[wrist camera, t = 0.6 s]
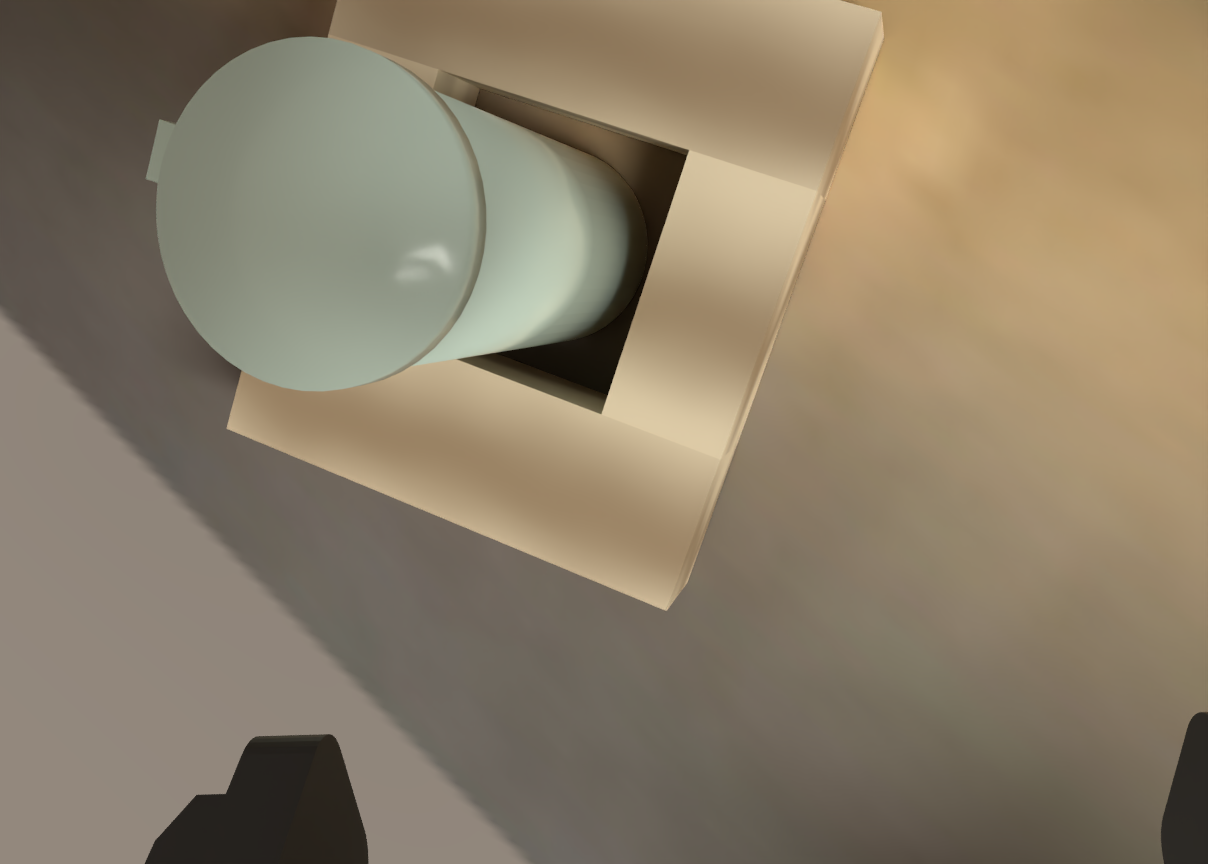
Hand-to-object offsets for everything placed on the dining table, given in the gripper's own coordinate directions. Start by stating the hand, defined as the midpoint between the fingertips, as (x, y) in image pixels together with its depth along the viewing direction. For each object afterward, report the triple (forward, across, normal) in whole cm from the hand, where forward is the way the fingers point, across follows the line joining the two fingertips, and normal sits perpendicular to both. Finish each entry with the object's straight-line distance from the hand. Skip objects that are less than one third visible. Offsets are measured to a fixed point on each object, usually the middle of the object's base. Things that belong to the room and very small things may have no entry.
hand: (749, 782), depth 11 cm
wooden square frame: (+23, +4, +4) cm, 24 cm away
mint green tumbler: (+23, +4, +4) cm, 24 cm away
